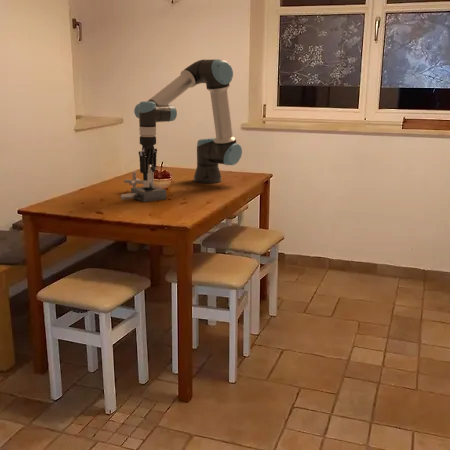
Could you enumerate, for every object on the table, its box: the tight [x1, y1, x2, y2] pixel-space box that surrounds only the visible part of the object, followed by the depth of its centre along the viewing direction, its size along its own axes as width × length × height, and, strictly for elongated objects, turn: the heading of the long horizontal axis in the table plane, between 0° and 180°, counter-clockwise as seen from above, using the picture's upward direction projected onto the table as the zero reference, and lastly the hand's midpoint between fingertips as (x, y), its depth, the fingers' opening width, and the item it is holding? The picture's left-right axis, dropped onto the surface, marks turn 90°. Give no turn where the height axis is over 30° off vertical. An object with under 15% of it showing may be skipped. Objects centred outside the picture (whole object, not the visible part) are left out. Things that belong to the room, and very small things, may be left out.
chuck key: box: [145, 164, 157, 190], centre depth 276 cm, size 8×4×14 cm, turn 68°
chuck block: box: [120, 185, 167, 203], centre depth 275 cm, size 20×12×4 cm, turn 128°
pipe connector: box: [123, 171, 143, 188], centre depth 291 cm, size 10×10×10 cm
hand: (148, 186), depth 277 cm, fingers closed on chuck key, 3 cm apart
